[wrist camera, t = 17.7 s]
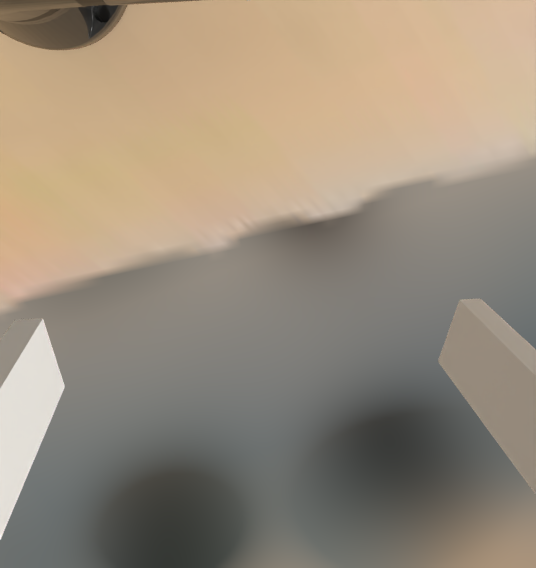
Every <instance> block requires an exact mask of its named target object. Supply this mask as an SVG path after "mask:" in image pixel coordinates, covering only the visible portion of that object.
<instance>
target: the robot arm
mask: <svg viewBox="0 0 536 568" xmlns="http://www.w3.org/2000/svg"><path fill="white" fill-rule="evenodd" d="M181 1H199V0H0V32H1V33H3V34H5V35H7V36H9V37H10V38H13V39H15V40H17V41H19V42H22V43H24V44H27V45H30V46H33V47H37V48H42V49H49V50H71V49H78V48H82V47H86V46H88V45H91V44H93V43H95V42H97V41H99V40H100V39H102V38H103V37H104V36H106V35H107V34H108V33H109V32H110V31H111V30H112V29H113V28H114V27H115V26H116V24H117V23H118V22H119V20H120V19H121V17H122V15H123V13H124V11H125V9H126V7H127V5H128V4H146V3H163V2H181ZM438 362H439V363H440V365H441V366H442V367H443V369H444V370H445V372H446V373H447V374H448V375H449V377H450V378H451V380H452V381H453V382H454V384H455V385H456V387H457V388H458V389H459V391H460V392H461V393H462V395H463V396H464V398H465V399H466V400H467V402H468V403H469V404H470V406H471V407H472V408H473V410H474V411H475V413H476V414H477V415H478V417H479V418H480V419H481V421H482V422H483V423H484V425H485V426H486V427H487V429H488V430H489V432H490V433H491V434H492V436H493V437H494V438H495V440H496V441H497V442H498V444H499V445H500V446H501V448H502V449H503V451H504V452H505V453H506V455H507V456H508V457H509V459H510V460H511V462H512V463H513V464H514V466H515V467H516V468H517V470H518V471H519V473H520V474H521V475H522V477H523V478H524V479H525V481H526V482H527V483H528V485H529V486H530V488H531V489H532V490H533V491H534V493H535V494H536V349H534V348H533V347H532V346H531V345H530V344H529V343H528V342H527V341H526V340H525V339H524V338H523V337H521V336H520V335H519V334H518V333H517V332H516V331H515V330H514V329H513V328H512V327H510V325H509V324H507V323H506V322H505V321H504V320H503V319H502V318H501V317H500V316H499V315H498V314H497V313H495V312H494V311H493V310H492V309H491V308H490V307H489V306H488V305H487V304H486V303H485V302H484V301H482V300H481V299H463V300H459V303H458V306H457V309H456V311H455V314H454V317H453V320H452V323H451V326H450V329H449V331H448V334H447V337H446V340H445V343H444V346H443V349H442V352H441V355H440V357H439V360H438ZM64 387H65V386H64V383H63V380H62V377H61V373H60V370H59V367H58V364H57V361H56V358H55V355H54V352H53V349H52V346H51V343H50V339H49V337H48V334H47V330H46V327H45V324H44V321H43V319H24V320H23V319H22V320H14V321H13V323H12V324H11V325H10V327H9V328H8V330H7V331H6V333H5V334H4V335H3V337H2V338H1V340H0V539H1V537H2V535H3V532H4V530H5V527H6V525H7V522H8V520H9V518H10V516H11V513H12V511H13V508H14V506H15V503H16V501H17V499H18V496H19V494H20V492H21V489H22V487H23V485H24V482H25V480H26V478H27V475H28V473H29V470H30V468H31V466H32V463H33V461H34V459H35V456H36V454H37V451H38V449H39V447H40V444H41V442H42V439H43V437H44V435H45V432H46V430H47V428H48V425H49V423H50V421H51V418H52V416H53V413H54V411H55V409H56V406H57V404H58V401H59V399H60V397H61V394H62V392H63V390H64Z"/></svg>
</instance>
